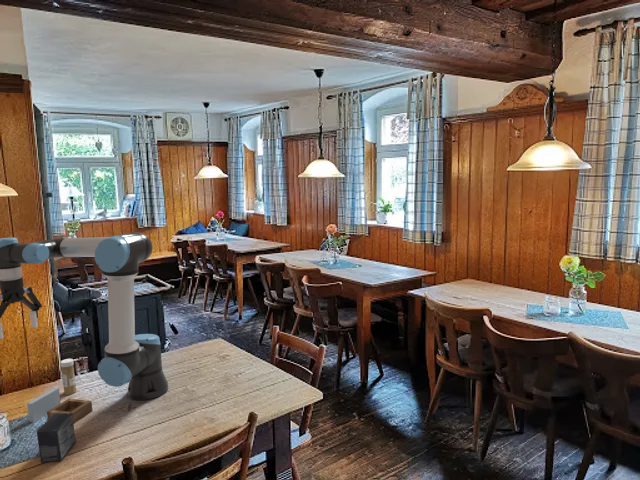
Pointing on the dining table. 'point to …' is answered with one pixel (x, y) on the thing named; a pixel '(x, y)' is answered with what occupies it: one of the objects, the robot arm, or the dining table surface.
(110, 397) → the dining table surface
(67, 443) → the small box
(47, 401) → the board
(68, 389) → the sprinkles bottle
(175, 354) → the dining table surface
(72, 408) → the socket block
